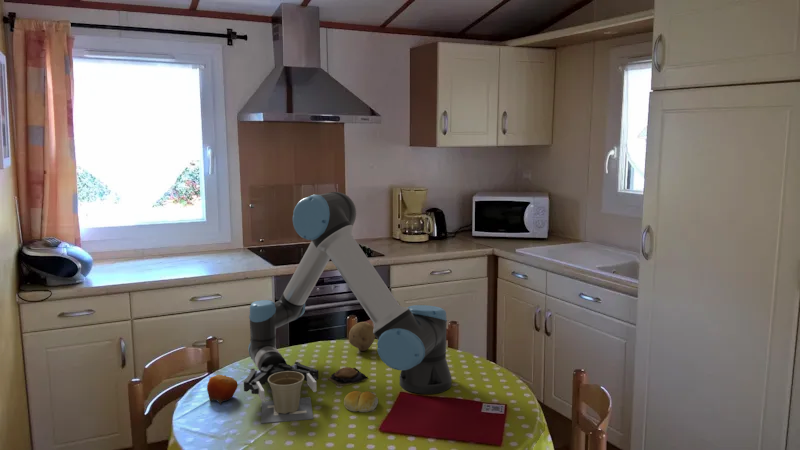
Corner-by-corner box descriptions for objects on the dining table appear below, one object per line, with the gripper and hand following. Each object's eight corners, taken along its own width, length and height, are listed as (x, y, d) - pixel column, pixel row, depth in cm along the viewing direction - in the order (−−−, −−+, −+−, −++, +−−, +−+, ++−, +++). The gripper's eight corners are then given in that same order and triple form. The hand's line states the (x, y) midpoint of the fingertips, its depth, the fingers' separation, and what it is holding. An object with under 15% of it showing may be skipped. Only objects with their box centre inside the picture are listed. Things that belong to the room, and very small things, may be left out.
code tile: (261, 423, 154) (261, 422, 154) (262, 401, 167) (262, 400, 167) (313, 419, 157) (313, 417, 157) (310, 397, 169) (310, 396, 169)
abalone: (339, 389, 177) (339, 377, 176) (325, 379, 184) (325, 367, 183) (371, 381, 183) (370, 369, 182) (356, 371, 190) (356, 360, 189)
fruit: (196, 400, 164) (204, 370, 167) (212, 404, 171) (220, 375, 174) (221, 405, 161) (229, 374, 164) (237, 409, 168) (245, 379, 171)
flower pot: (301, 417, 157) (300, 385, 156) (264, 416, 157) (263, 384, 156) (307, 401, 166) (307, 371, 165) (273, 401, 166) (272, 370, 165)
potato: (365, 357, 200) (365, 328, 199) (343, 352, 205) (342, 323, 203) (380, 349, 208) (380, 320, 207) (358, 344, 212) (358, 316, 211)
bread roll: (349, 398, 170) (349, 384, 169) (380, 402, 167) (380, 388, 167) (339, 411, 162) (338, 397, 161) (371, 415, 159) (371, 400, 159)
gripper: (312, 369, 183) (335, 396, 164) (226, 383, 172) (240, 414, 153) (312, 345, 182) (335, 369, 162) (225, 357, 171) (239, 385, 152)
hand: (289, 391), depth 158 cm, fingers open, 13 cm apart
